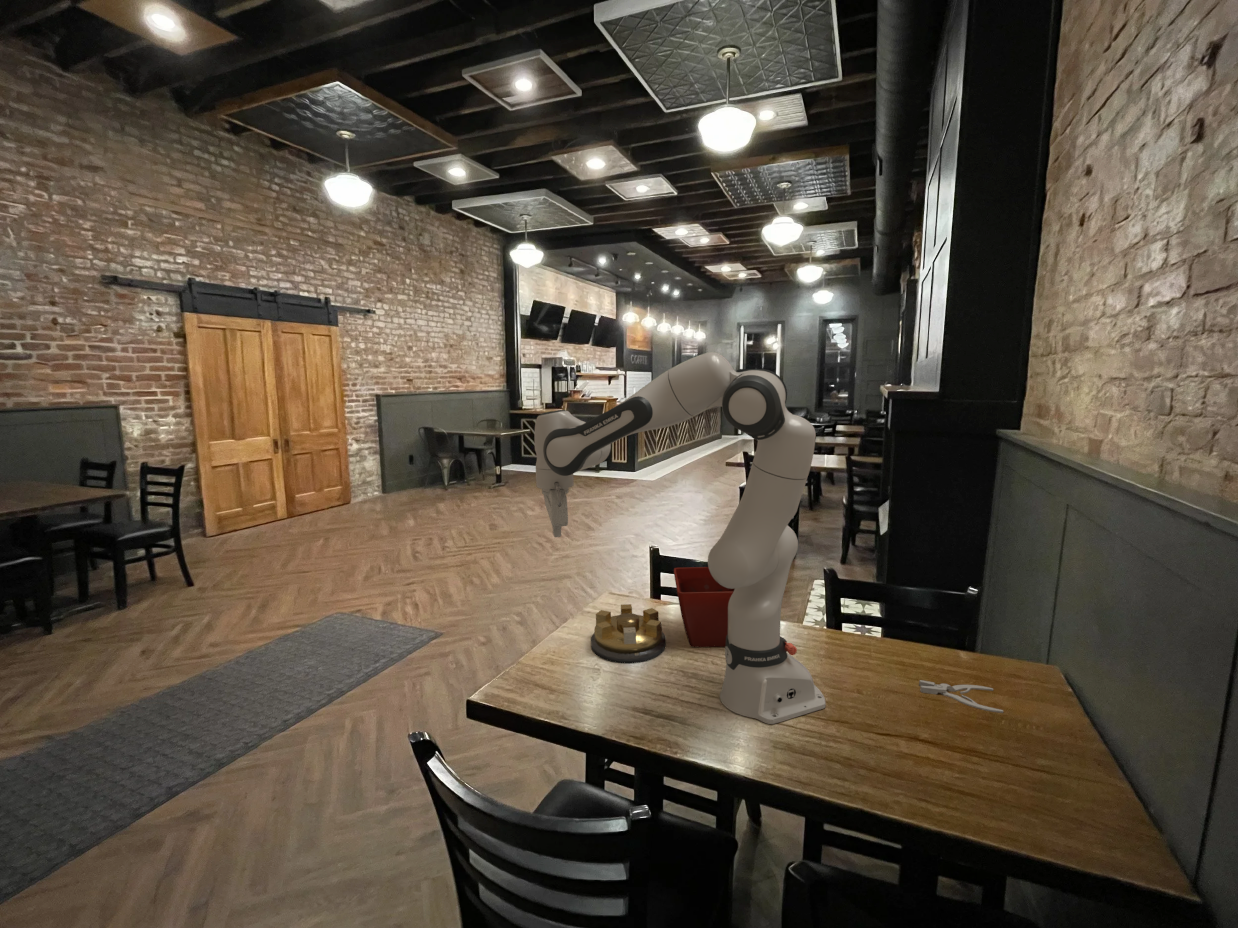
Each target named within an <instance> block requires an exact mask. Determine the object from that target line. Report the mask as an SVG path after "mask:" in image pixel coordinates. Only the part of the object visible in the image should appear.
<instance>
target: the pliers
mask: <svg viewBox="0 0 1238 928" xmlns="http://www.w3.org/2000/svg"><path fill="white" fill-rule="evenodd" d="M918 683H919V684H918V686H919V687H920V689H919V690H920V693H924V694H930V695H938V694H940V695H942V696H944V697H948V698H951V699H953V700H955V701H957V702H959V703H961V704H963V705H965V706H968V707H970V708H971V707H972V708H975V709H977V710H983V711H987V712H992V713H1001V714H1003V713H1004V710H1003V709H999V708H995V707H990V706H987V705H982V704H979V703H977V702H976V701H975V700H973V699H971V698H970V697H968V696H966V695H964V694H967V693H970V691H971V690H980V691H989V692H990V691H991V692H994V688H993V687H989V686H983V685H976V684H975V685H974V684H957V685H956V684H954V685H952V686H951V685H950V684H948V683H940V684H936V683H935V681H934V682H933V681H928V680H923V679H919V682H918ZM949 692H955V693H956V692H959V694H960V696H959V695H957V694H955V693H954V694H953V693H949Z"/></svg>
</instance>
